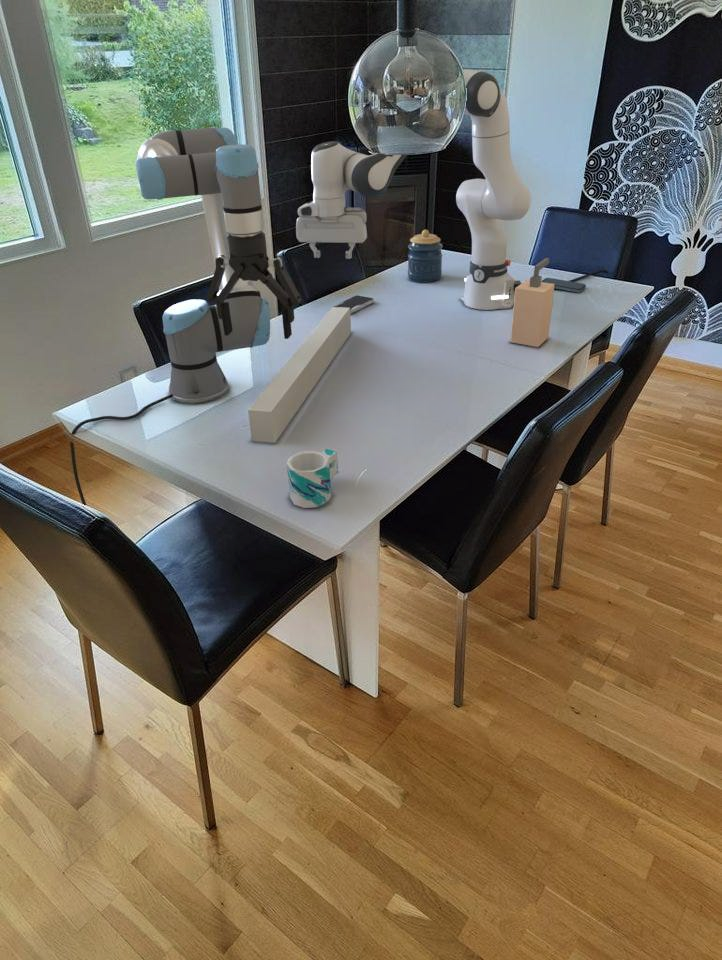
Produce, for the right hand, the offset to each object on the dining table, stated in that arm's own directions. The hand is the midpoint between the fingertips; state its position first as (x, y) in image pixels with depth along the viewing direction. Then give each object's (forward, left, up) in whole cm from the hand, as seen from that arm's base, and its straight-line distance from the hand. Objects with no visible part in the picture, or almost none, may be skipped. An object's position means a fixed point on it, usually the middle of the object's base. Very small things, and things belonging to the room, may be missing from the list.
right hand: (333, 257), depth 194 cm
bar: (+28, +13, -24) cm, 39 cm away
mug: (+69, +50, -24) cm, 89 cm away
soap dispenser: (-31, +50, -24) cm, 64 cm away
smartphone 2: (-82, +38, -24) cm, 93 cm away
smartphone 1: (-26, -14, -24) cm, 38 cm away
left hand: (+56, +25, 0) cm, 62 cm away
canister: (-67, -11, -24) cm, 72 cm away
